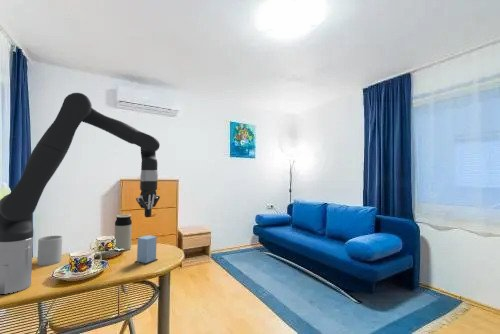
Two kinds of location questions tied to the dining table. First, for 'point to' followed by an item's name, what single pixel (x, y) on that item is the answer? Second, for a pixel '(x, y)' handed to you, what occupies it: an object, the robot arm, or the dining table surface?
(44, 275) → the dining table surface
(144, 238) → the blue rectangular block
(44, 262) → the mug
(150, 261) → the post
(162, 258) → the dining table surface
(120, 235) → the travel mug
